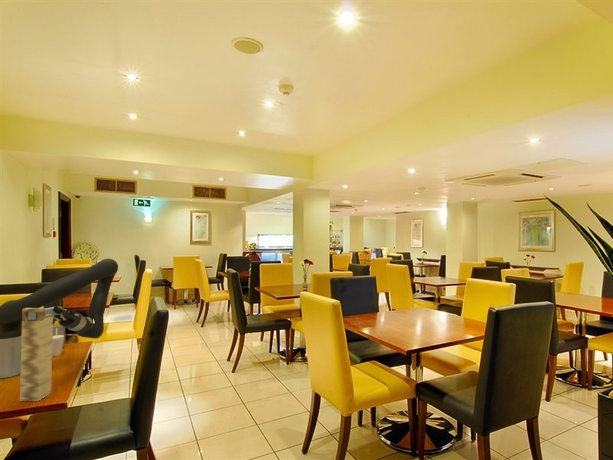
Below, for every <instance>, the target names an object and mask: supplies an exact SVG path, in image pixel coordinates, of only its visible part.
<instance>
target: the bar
mask: <svg viewBox="0 0 613 460" xmlns="http://www.w3.org/2000/svg"><path fill="white" fill-rule="evenodd" d="M49 307H50V308H45V307H44V308H45V315H47V314H52V316H54V315H58V314H57V313H55V312H54V311H53V309H54V306H52V307H51V306H49ZM58 307H59V308H61V309H62V308H63V307H62V306H58ZM27 320H37V312H28V319H27Z"/></svg>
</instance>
